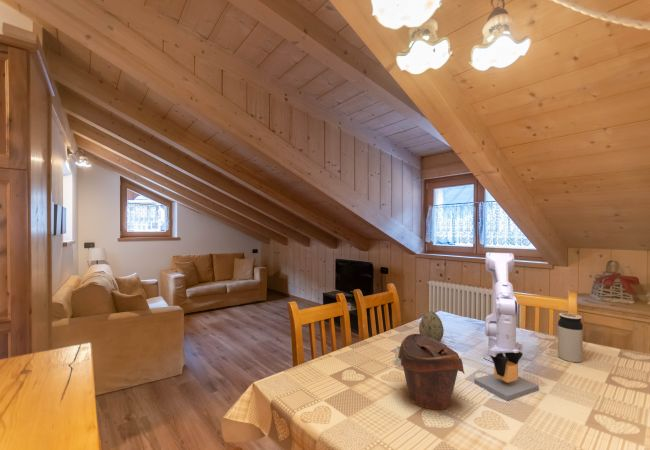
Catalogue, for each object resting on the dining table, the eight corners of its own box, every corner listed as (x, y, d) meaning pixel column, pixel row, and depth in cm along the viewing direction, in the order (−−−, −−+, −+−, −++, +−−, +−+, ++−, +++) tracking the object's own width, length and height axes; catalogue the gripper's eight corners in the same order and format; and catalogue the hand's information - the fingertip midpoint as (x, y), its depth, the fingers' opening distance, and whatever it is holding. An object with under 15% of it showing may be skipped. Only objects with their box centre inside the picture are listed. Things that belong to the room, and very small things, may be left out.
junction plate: (504, 374, 115) (504, 360, 115) (538, 390, 104) (538, 375, 104) (474, 383, 108) (474, 368, 108) (507, 401, 97) (507, 385, 97)
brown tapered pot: (459, 424, 85) (459, 358, 85) (389, 402, 96) (390, 344, 96) (468, 395, 100) (468, 339, 101) (407, 379, 111) (407, 329, 111)
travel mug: (561, 360, 127) (561, 316, 127) (555, 353, 134) (555, 311, 134) (585, 364, 124) (586, 319, 124) (578, 356, 131) (578, 313, 131)
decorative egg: (416, 345, 142) (416, 312, 142) (422, 338, 152) (422, 307, 152) (440, 350, 137) (441, 316, 137) (445, 342, 146) (445, 310, 146)
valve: (399, 368, 119) (427, 365, 122) (399, 351, 119) (427, 348, 122) (391, 361, 125) (418, 358, 128) (391, 345, 125) (418, 342, 128)
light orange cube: (503, 373, 109) (503, 358, 109) (517, 379, 105) (517, 364, 105) (494, 375, 107) (494, 361, 107) (507, 382, 102) (508, 367, 103)
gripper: (502, 340, 99) (502, 383, 99) (531, 334, 105) (531, 374, 105) (483, 333, 106) (483, 373, 106) (511, 328, 112) (511, 366, 112)
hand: (505, 373), depth 106 cm, fingers closed on light orange cube, 5 cm apart
